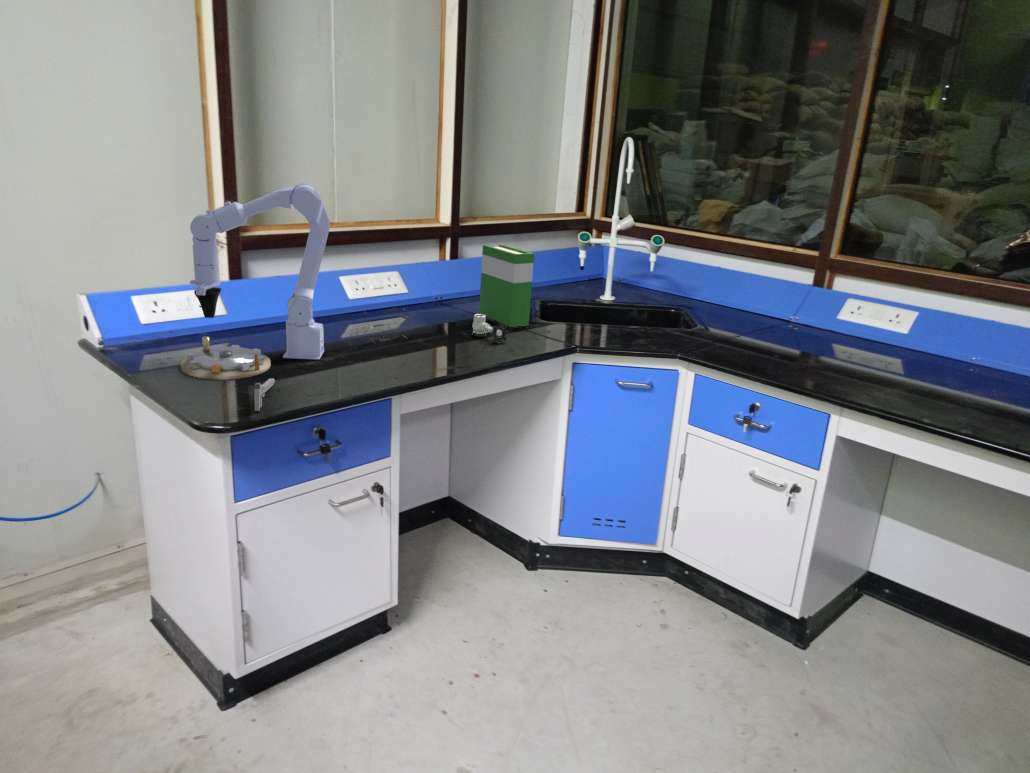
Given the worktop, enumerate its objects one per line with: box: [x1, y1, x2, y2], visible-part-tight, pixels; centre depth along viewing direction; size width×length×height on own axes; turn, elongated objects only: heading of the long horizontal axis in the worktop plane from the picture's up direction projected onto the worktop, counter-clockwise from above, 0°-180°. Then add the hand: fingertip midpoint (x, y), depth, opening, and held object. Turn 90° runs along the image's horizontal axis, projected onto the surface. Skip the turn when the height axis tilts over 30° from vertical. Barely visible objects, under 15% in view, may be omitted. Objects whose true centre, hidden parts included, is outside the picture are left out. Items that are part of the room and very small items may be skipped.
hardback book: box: [478, 243, 535, 327], centre depth 248 cm, size 18×7×24 cm, turn 37°
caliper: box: [253, 378, 276, 412], centre depth 172 cm, size 20×1×6 cm, turn 8°
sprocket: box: [186, 335, 265, 373], centre depth 189 cm, size 18×18×5 cm
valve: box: [472, 313, 510, 343], centre depth 230 cm, size 7×7×12 cm
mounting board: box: [180, 353, 272, 381], centre depth 190 cm, size 21×21×5 cm
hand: (209, 317), depth 193 cm, fingers closed
